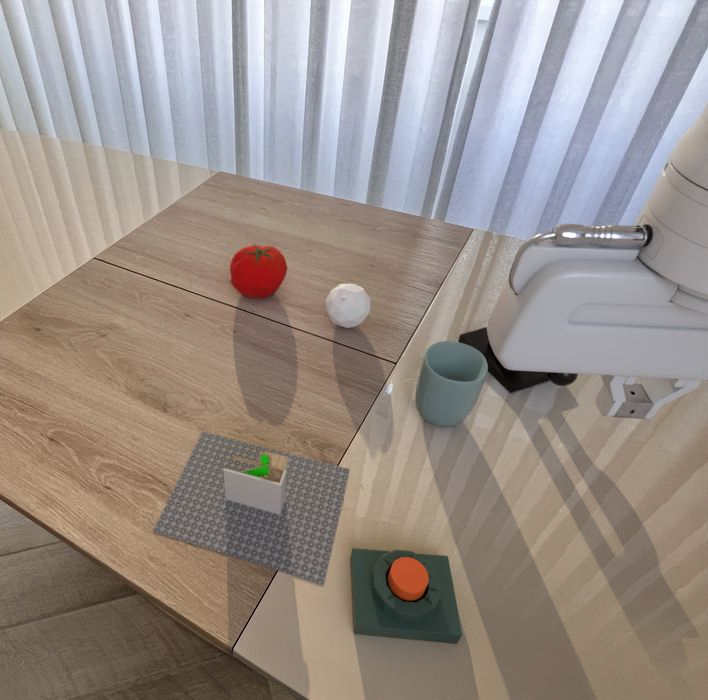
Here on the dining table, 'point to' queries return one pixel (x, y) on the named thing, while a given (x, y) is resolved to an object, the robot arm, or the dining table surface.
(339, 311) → the ornament
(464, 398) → the cup
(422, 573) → the button
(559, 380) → the lever with ball knob
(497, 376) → the lever base
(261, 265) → the tomato
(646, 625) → the dining table surface
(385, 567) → the dimmer block
